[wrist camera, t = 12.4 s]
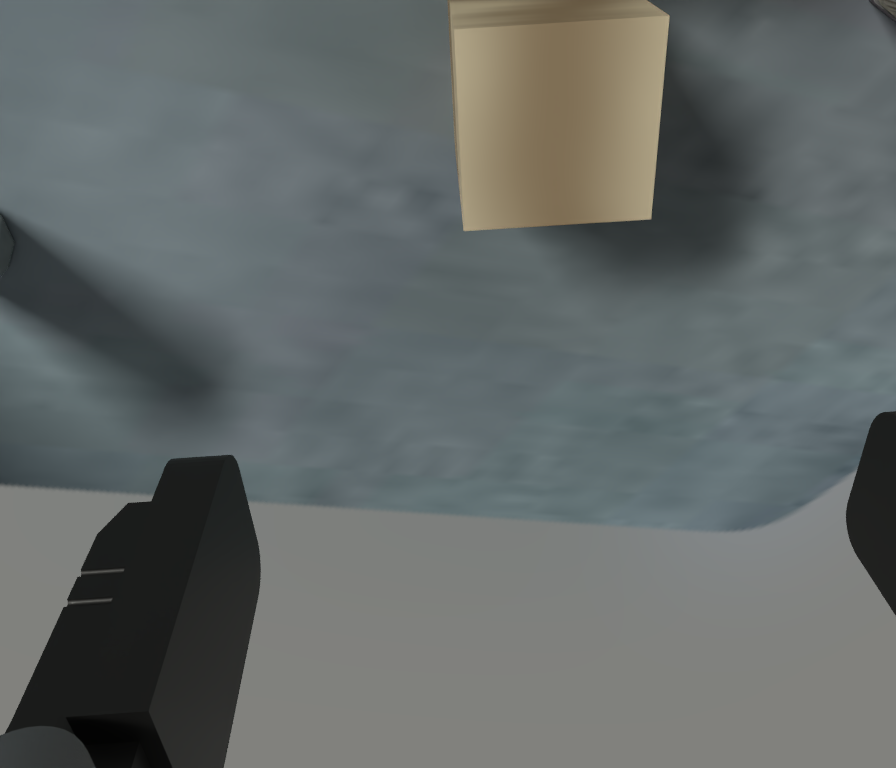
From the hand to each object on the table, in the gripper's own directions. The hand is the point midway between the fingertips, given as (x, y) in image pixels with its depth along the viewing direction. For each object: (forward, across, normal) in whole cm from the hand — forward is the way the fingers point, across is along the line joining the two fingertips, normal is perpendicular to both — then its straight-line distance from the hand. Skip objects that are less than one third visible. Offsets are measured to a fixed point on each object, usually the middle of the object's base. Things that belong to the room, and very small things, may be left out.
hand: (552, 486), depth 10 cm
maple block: (+19, -2, -1) cm, 19 cm away
